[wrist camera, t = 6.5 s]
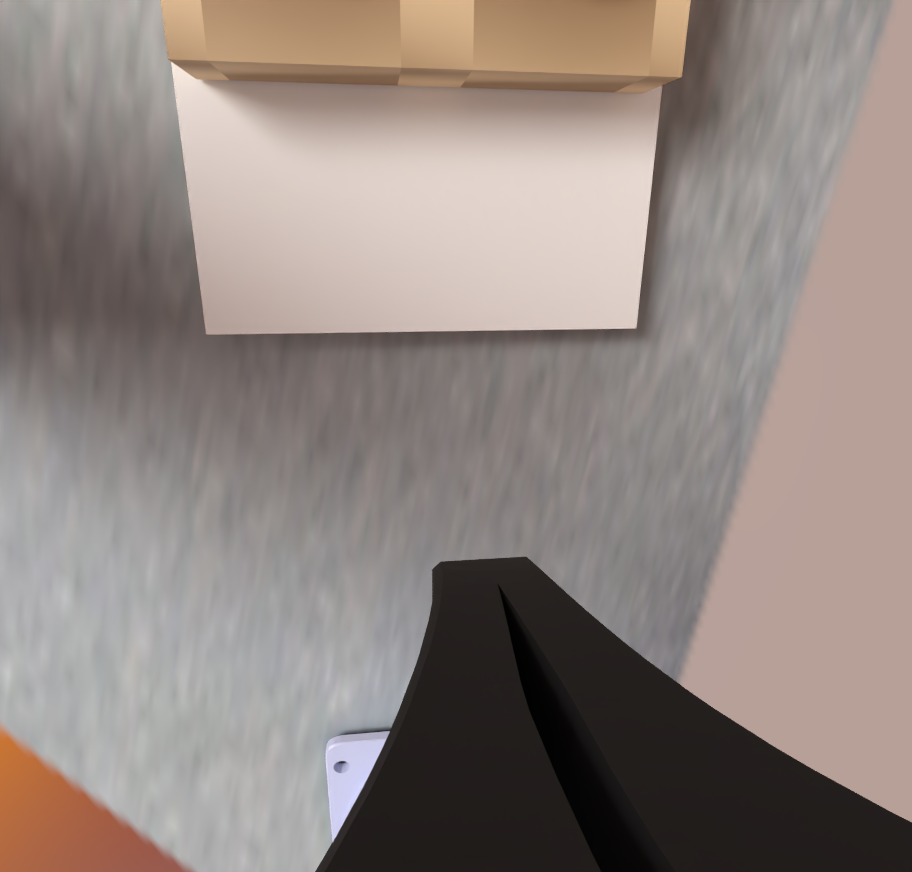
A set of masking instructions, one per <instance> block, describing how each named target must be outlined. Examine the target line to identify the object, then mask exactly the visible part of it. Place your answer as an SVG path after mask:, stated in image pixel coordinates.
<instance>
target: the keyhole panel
mask: <svg viewBox="0 0 912 872" xmlns="http://www.w3.org/2000/svg"><path fill="white" fill-rule="evenodd" d="M690 2H691V0H161V7H162V15H163V22H164V30H165V38H166V46H167V53H168V60H170V61H171V62H173V63H174V64H176V65H177V66H178V67H180V68H181V69H183V70H184V71H185V72H187V73H188V74H190V75H191V76H192V77H194V78H195V79H201V80H233V81H265V82H297V83H329V84H360V85H392V86H424V87H456V88H488V89H520V90H551V91H583V92H615V93H645V92H647V91H650V90H652V89H654V88H657V87H659V86H662V85H664V84H667V83H669V82H671V81H674V80H676V79H679V78H681V77H682V71H683V62H684V53H685V45H686V36H687V28H688V19H689V10H690Z"/></svg>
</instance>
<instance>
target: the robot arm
mask: <svg viewBox="0 0 912 872" xmlns="http://www.w3.org/2000/svg"><path fill="white" fill-rule="evenodd" d="M325 757H326V769H327V782H328V794H329V806H330V818H331V831H332V844H331V846H330V848H329V850H328V851H327V853H326V855H325V856H324V858H323V860H322V861H321V863H320V865H319V866H318V868H317V870H316V871H315V872H912V822H910V821H908V820H906V819H904V818H902V817H899V816H898V815H896V814H894V813H892V812H890V811H888V810H886V809H884V808H882V807H880V806H879V805H877V804H875V803H873V802H871V801H870V800H868V799H866V798H864V797H862V796H860V795H859V794H857V793H855V792H853V791H851V790H850V789H848V788H846V787H844V786H842V785H840V784H838V783H836V782H835V781H833V780H831V779H829V778H827V777H826V776H824V775H822V774H820V773H818V772H817V771H815V770H813V769H811V768H809V767H808V766H806V765H804V764H803V763H801V762H799V761H797V760H796V759H794V758H792V757H791V756H789V755H787V754H785V753H784V752H782V751H780V750H779V749H777V748H775V747H774V746H772V745H770V744H769V743H767V742H766V741H764V740H762V739H761V738H759V737H758V736H756V735H755V734H753V733H752V732H750V731H748V730H747V729H745V728H744V727H742V726H740V725H739V724H737V723H736V722H734V721H733V720H731V719H730V718H728V717H726V716H725V715H723V714H722V713H720V712H719V711H717V710H715V709H714V708H713V707H711V706H709V705H708V704H707V703H705V702H704V701H702V700H701V699H699V698H698V697H696V696H695V695H693V694H692V693H691V692H689V691H688V690H686V689H685V688H684V687H682V686H681V685H680V684H678V683H677V682H676V681H674V680H673V679H672V678H670V677H669V676H668V675H666V674H665V673H663V672H662V671H661V670H659V669H658V668H657V667H655V666H654V665H653V664H651V663H650V662H649V661H647V660H646V659H645V658H643V657H642V656H641V655H640V654H638V653H637V652H636V651H635V650H633V649H632V648H631V647H629V646H628V645H627V644H626V643H624V642H623V641H622V640H621V639H619V638H618V637H617V636H616V635H615V634H613V633H612V632H611V631H610V630H609V629H607V628H606V627H605V626H604V625H603V624H601V623H600V622H599V621H598V620H597V619H596V618H594V617H593V616H592V615H591V614H590V613H589V612H587V611H586V610H585V609H584V608H583V607H582V606H581V605H579V604H578V603H577V602H576V601H575V600H574V599H573V598H572V597H570V596H569V595H568V594H567V593H566V592H565V591H564V590H563V589H561V588H560V587H559V586H558V585H557V584H556V583H555V582H554V581H553V580H552V579H550V578H549V577H548V576H547V575H546V574H545V573H544V572H543V571H542V570H541V569H540V568H538V567H537V566H536V565H535V564H534V563H533V562H532V561H531V560H529V559H528V558H527V557H514V558H497V559H479V560H462V561H445V562H440V563H439V564H438V565H437V566H435V567H434V568H433V569H432V607H431V612H430V617H429V622H428V625H427V629H426V632H425V636H424V640H423V643H422V647H421V651H420V654H419V657H418V660H417V663H416V666H415V669H414V672H413V674H412V677H411V680H410V682H409V685H408V688H407V690H406V693H405V696H404V698H403V701H402V704H401V706H400V709H399V711H398V714H397V716H396V719H395V721H394V723H393V725H392V728H391V730H390V731H384V732H373V733H362V734H351V735H340V736H336V737H334V738H332V739H330V740H329V742H328V743H327V746H326V755H325ZM339 761H346V762H345V763H338V762H339Z"/></svg>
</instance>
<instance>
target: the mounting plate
mask: <svg viewBox="0 0 912 872" xmlns="http://www.w3.org/2000/svg"><path fill="white" fill-rule="evenodd" d="M171 64H172V72H173V80H174V87H175V95H176V103H177V111H178V119H179V127H180V134H181V142H182V150H183V158H184V166H185V173H186V181H187V189H188V197H189V205H190V213H191V220H192V228H193V236H194V244H195V252H196V259H197V267H198V275H199V283H200V291H201V299H202V306H203V314H204V322H205V330H206V335H217V334H287V333H356V332H425V331H495V330H564V329H633V328H636V326H637V317H638V308H639V298H640V289H641V280H642V270H643V261H644V252H645V242H646V233H647V224H648V214H649V205H650V196H651V186H652V177H653V168H654V158H655V149H656V140H657V130H658V121H659V112H660V102H661V93H662V86H659V87H657V88H654V89H652V90H650V91H647V92H645V93H615V92H583V91H551V90H520V89H488V88H456V87H424V86H392V85H360V84H329V83H297V82H265V81H233V80H201V79H195V78H194V77H192V76H191V75H190V74H188V73H187V72H185V71H184V70H183V69H181V68H180V67H178V66H177V65H176V64H174V63H173V62H171Z"/></svg>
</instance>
